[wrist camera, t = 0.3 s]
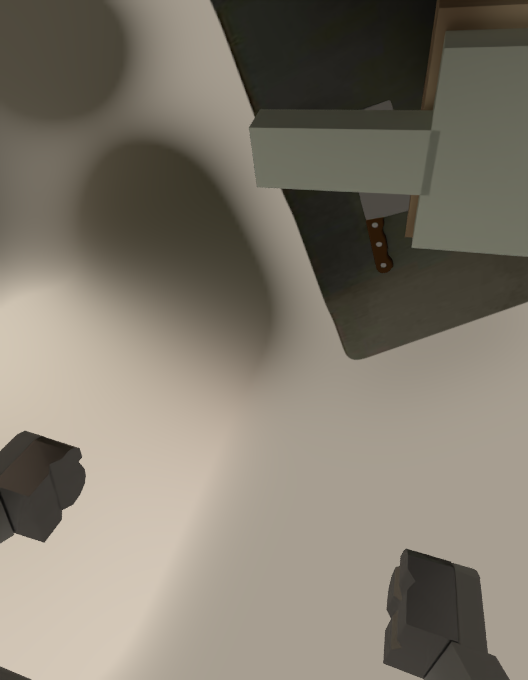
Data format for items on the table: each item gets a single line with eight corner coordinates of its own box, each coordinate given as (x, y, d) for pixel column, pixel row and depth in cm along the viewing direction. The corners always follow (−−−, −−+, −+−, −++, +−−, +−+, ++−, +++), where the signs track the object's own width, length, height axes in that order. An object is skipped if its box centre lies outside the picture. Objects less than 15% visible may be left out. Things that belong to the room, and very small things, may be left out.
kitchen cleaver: (434, 267, 66) (364, 276, 70) (434, 262, 67) (364, 271, 71) (413, 92, 50) (324, 116, 54) (413, 88, 51) (325, 112, 55)
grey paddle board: (272, 216, 35) (263, 235, 34) (252, 37, 26) (239, 53, 25) (598, 237, 30) (605, 262, 28) (714, 21, 21) (733, 40, 19)
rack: (423, 89, 50) (401, 263, 32) (448, -86, 39) (436, 28, 21) (570, 88, 46) (637, 283, 28) (640, -105, 36) (818, 13, 18)
